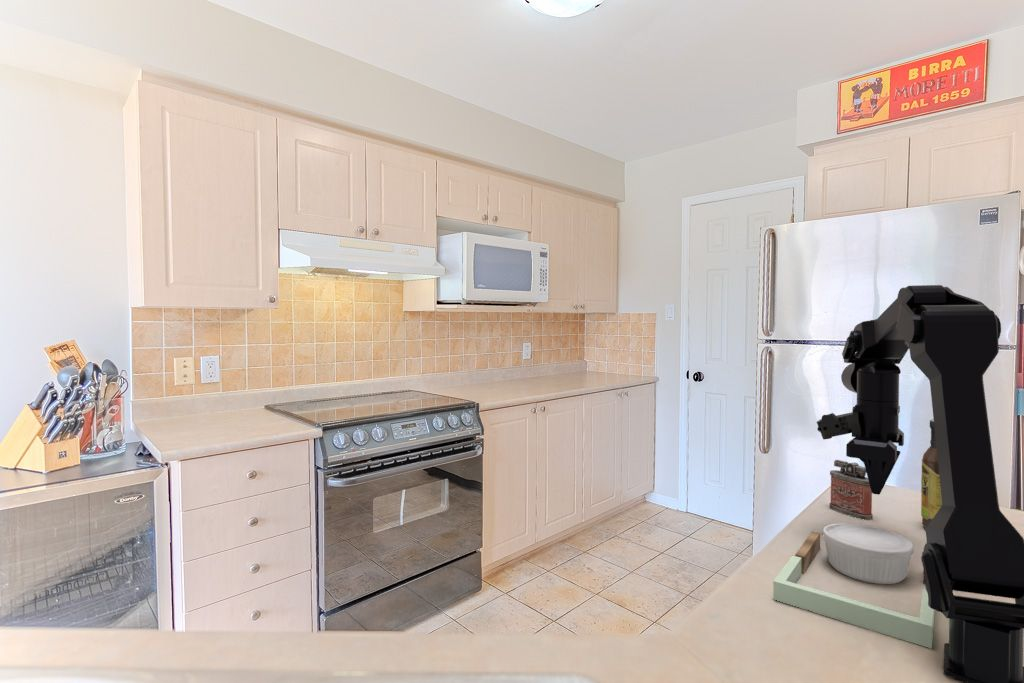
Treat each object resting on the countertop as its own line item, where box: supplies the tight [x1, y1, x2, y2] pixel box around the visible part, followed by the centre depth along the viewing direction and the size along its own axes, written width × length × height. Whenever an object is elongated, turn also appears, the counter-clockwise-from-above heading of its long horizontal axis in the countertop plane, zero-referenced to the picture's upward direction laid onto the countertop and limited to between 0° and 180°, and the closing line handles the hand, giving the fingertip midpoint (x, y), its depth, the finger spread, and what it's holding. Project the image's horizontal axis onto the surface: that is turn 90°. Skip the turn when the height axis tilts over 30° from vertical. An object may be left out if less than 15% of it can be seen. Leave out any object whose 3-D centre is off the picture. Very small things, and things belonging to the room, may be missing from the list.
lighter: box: [828, 459, 874, 521], centre depth 103 cm, size 8×3×10 cm, turn 22°
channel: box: [794, 531, 926, 585], centre depth 77 cm, size 12×16×3 cm
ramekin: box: [822, 522, 914, 585], centre depth 78 cm, size 11×11×5 cm
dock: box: [772, 555, 936, 650], centre depth 68 cm, size 10×16×2 cm, turn 50°
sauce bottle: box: [920, 418, 942, 529], centre depth 93 cm, size 6×6×20 cm
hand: (875, 493), depth 87 cm, fingers closed
